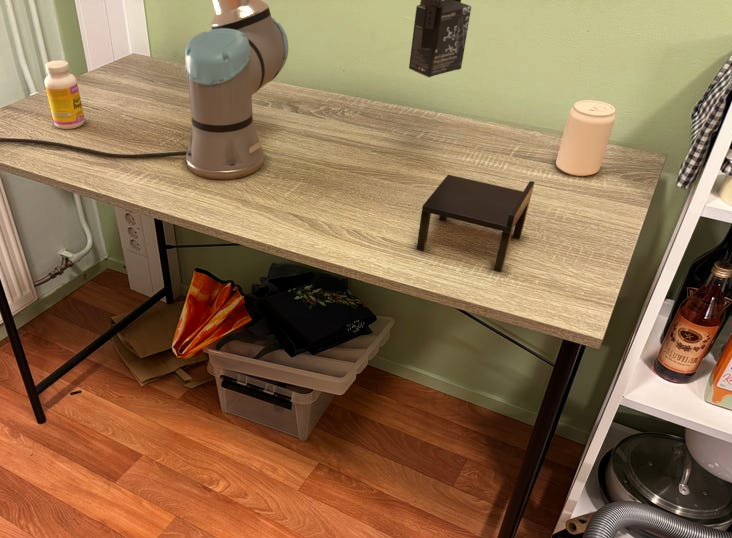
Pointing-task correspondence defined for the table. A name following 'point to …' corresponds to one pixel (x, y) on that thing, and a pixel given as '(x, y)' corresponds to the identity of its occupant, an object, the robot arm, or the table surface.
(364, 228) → the table surface
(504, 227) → the small dark brown table
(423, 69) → the box
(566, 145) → the beverage can
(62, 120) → the supplement bottle
